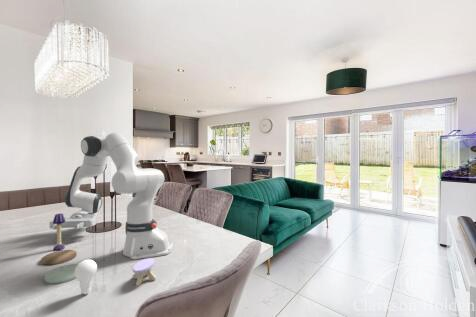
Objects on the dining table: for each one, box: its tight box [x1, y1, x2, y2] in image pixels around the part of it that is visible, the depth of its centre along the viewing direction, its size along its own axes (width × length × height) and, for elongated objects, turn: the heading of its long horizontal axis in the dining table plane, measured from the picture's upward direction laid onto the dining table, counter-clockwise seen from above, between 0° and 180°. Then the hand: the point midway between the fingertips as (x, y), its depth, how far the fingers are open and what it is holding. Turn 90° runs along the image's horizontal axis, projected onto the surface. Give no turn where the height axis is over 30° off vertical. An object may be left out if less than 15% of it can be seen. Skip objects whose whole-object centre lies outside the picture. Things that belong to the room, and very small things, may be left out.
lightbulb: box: [75, 259, 98, 295], centre depth 72 cm, size 6×6×11 cm
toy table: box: [132, 257, 157, 287], centre depth 81 cm, size 10×9×6 cm
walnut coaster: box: [40, 249, 77, 266], centre depth 96 cm, size 12×12×1 cm
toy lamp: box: [52, 213, 66, 252], centre depth 106 cm, size 5×5×17 cm
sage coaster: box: [44, 263, 79, 285], centre depth 83 cm, size 12×12×1 cm
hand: (65, 227), depth 111 cm, fingers open, 8 cm apart
